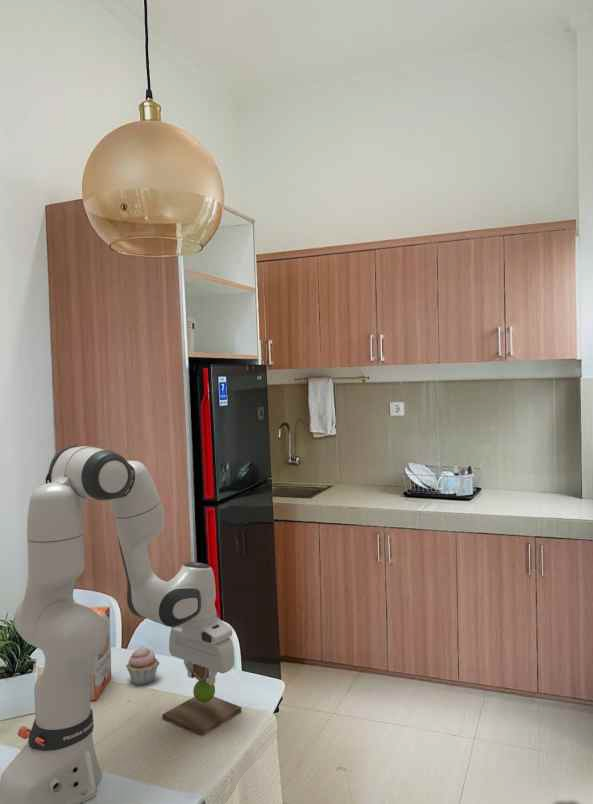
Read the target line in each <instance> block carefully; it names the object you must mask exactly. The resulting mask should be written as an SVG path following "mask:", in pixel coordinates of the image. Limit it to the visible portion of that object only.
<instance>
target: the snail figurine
mask: <svg viewBox="0 0 593 804" xmlns="http://www.w3.org/2000/svg"><path fill="white" fill-rule="evenodd" d="M193 671H194V673H195V674H196V675H195V677H194V679H196V680H197V682H196V683H195V684H194V687H193V692H192V693H193V697H195V698H196V699H197V700H198V701H199V702H203V703H205V702H208V701H210V700H211V699H212V698H213V696H214V697H215V694H216V687H215V684H213V685H209V684H206V677H208V676H209V675H210V672H209V671H208V668H205V667H202V666H200V665H197V664H194V663H193Z"/></svg>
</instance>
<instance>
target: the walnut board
mask: <svg viewBox="0 0 593 804" xmlns="http://www.w3.org/2000/svg"><path fill="white" fill-rule="evenodd" d="M240 713H242V706H239V705H237V704H234V703H233V702H232V703H231V702H229V701H227V700H224V699H221V698H220V697H216V696H215V695H214V696H213V698H212V699H211V700H210V701H208V702H205V703H203V702H199V701H198V700H197V699H196V698H195V697H194V696H193V697H191V698H189V699H187V700H186V701H184V702H182V703H180V704H179V705H176V706H175V707H173V708H171V709H169V710H167V711H166V712H164V713H162V720H164V721H165V722H168V723H171V724H173V725H174V726H176V727H178V728H181V729H184V730H186V731H189V732H190V733H193V734H195V735H197V736H200V737H203V736H204V735H207V734H208V733H210V732H212V731H213V730H215V729H216V728H218V727H219V726H221V725H222V724H224V723H226V722H228V721H229V720H230V719H232V718H234V717H235V716H237V715H238V714H240ZM206 733H207V734H206Z"/></svg>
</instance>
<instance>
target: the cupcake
mask: <svg viewBox="0 0 593 804" xmlns="http://www.w3.org/2000/svg"><path fill="white" fill-rule="evenodd" d="M155 655H156V654H155V653H154V651H153V650H152V649H150V648H147V647H146V646H144V645H142V644H141V645H140V647H139V648H138V649H136V650H134V651H133V652H132V654H131V656H130V657H129V659H128V662H127V663H126V664H125V667H126V670H127V671H128V673H129V676H130V680H131V682H132V683H133V685H136V686H144V685H145V686H146V685H148V684H151V683H152V682H154V681H155V678H156V673H157V669H158V667H159V665H160V661H159V659H158V658H156V656H155Z"/></svg>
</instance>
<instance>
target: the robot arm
mask: <svg viewBox="0 0 593 804" xmlns="http://www.w3.org/2000/svg"><path fill="white" fill-rule="evenodd" d="M30 495H31V496H30V498H29V503H28V508H27V509H28V510H27V522H26V525H27V526H26V539H27V540H26V541H27V566H28V572H27V574H28V575H27V582H26V588H25V591H24V592H25V593H24V595H23V600H22V601H21V602H20V603H19V604H18V606H17V607H16V610H15V612H14V615H13V626H14V628H15V631H16V632H17V633H18V635H19V636H20V637H21V638H22V640H24V642H26V644H29V645H31V646H33V647H34V648H37V649H38V650H41V651H42V653H43V655H44V667H43V671H42V674H41V675H40V676H39V677H38V678H37V679H36V682H35V683H34V687H33V693H34V694H33V696H34V715H35V716H34V717H35V718H34V721H33V723H32V725H31V726H32V727H31V729H30V728H28V727H27V726H25V725H23V726H20V728H18V730H17V733H16V734H17V736H18V737H20V738H21V739H23V740H27V739H28V740H27V743H26V744H25V745H24V746H23V748H22V749H21V750H20V751H19V752H18V754H16V756H15V757H14V759H12V761H11V762H10V763H8V765H7V766H6V768H5V769H4V770H3V771H2V773H1V775H0V804H81V803H84V802H86V801H88V800H90V799H92V798H94V797H95V796H96V794H97V785H98V784H99V782H100V781H101V779H102V778H101V777H102V770H101V768H100V764H99V762H98V758H97V754H96V749H95V743H94V736H93V732H94V726H95V725H94V715H93V713H94V712H93V709H92V708H91V700H90V673H91V668H92V664H93V661H94V658H96V657H97V656H98V655H99V654H100V653H101V651H102V650H103V648H104V646H105V644H106V641H107V637H108V628H107V625H106V623H105V621H104V620H103V619H102V618H101V617H100V616H99V615H98V614H97V613H96V612H95V611H93V610H92V609H91V608H90V607H89V606H86V605H83V604H80V603H78V602H75V598H74V591H75V585H76V581H77V579H78V578H79V577H80V576H81V575H82V574H83V572H84V569H85V545H84V527H83V514H84V508H85V506H86V503H87V501H88V500H89V499H91V500H95V501H96V500H97V501H108V502H109V505H110V507H111V511H112V515H113V519H114V521H115V524H116V528H117V532H118V534H117V540H118V541H117V542H118V546H119V551H120V554H121V555H120V556H121V561H122V564H123V568H124V572H125V577H126V581H127V586H126V587H127V588H126V592H127V593H126V602H127V606H128V607H127V608H128V609H129V611H130V612H131V613H132V614H133V615H134V616H137V617H139V618H141V619H142V618H144V619H148V620H149V621H152V622H155V623H157V624H160V625H162V626H165V627H169V628H170V633H169V638H168V639H169V641H168V642H169V644H168V652H169V654H170V655H171V656H172V657H175V658H178V659H180V660H183V665H184V667H185V669H186V671H187V677H188V678H190V679H195V675H196V674H195V673H194V671H193V663H194V664H197V665H200V666H202V667H205V668H208V671H209V672H210V674H209V676H208V677H206V684H209V685H213V684H214V685H215V684H216V676H217V674H218V673H220V674H226V673H228V672H230V671H231V670H232V669H233V668H234V666H235V649H234V643H233V641H232V639H231V637H232V636H233V629H232V628H231V626H229V625H228V624H226V623H225V622H224V621H223V620H221V619H220V618H219V617H218V616H217V615H218V614H217V609H216V605H215V602H216V599H217V596H216V595H217V594H216V593H217V592H216V581H215V575H214V574H215V573H214V570H213V568H212V567H211V566H210V565H209V564H206V563H203V562H197V561H188V562H185V563H183V564H182V565H181V568H180V569H179V571H178V572H177V573H176V575H175V576H174V577H173V578H171V579H170V580H168V581H165V580H163V579H161V578H160V577H158V576H157V575H156V574H155V573H154V572H153V570H152V565H151V560H150V557H149V552H148V551H149V550H148V547H147V546H148V543H150V542H151V541H154V540H155V539H156V538H157V537H159V535H160V534H161V533H162V532H163V529H164V527H165V525H166V517H165V511H164V506H163V504H162V500H161V497H160V494H159V491H158V489H157V486H156V484H155V482H154V479H153V477H152V475H151V474H150V472H149V470H148V468H147V466H146V465H145V464H144V463H142V462H140V461H138V460H126V458H125V457H123V455H121V454H119V453H118V452H115V451H113V450H111V449H110V450H109V449H103V448H100V447H97V446H89V445H88V446H87V445H86V446H85V445H84V446H81V445H71V446H67V447H64V448H62V449H61V450H59V451H58V452H56V454H55V455H54V456H53V458H52V459H51V462H50V464H49V468H48V472H47V474H46V477H45V483H44V484H42V485H40V486H39V487H37V488H36V489H35V490H33V492H32V493H31V494H30Z"/></svg>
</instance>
